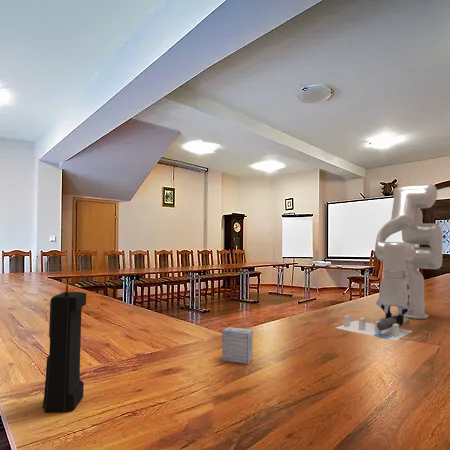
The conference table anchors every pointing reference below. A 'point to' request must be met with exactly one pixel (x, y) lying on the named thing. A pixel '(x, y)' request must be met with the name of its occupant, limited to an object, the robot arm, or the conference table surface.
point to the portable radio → (64, 353)
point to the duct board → (373, 329)
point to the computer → (397, 315)
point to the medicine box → (237, 345)
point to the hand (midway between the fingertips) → (394, 324)
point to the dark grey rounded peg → (387, 323)
